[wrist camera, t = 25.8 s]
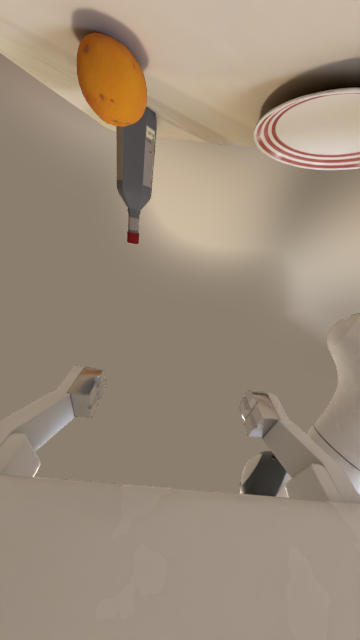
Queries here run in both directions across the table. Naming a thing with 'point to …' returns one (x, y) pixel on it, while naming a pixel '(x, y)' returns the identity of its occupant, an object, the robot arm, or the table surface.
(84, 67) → the fruit
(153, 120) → the liquor
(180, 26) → the table surface
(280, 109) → the dinner plate
